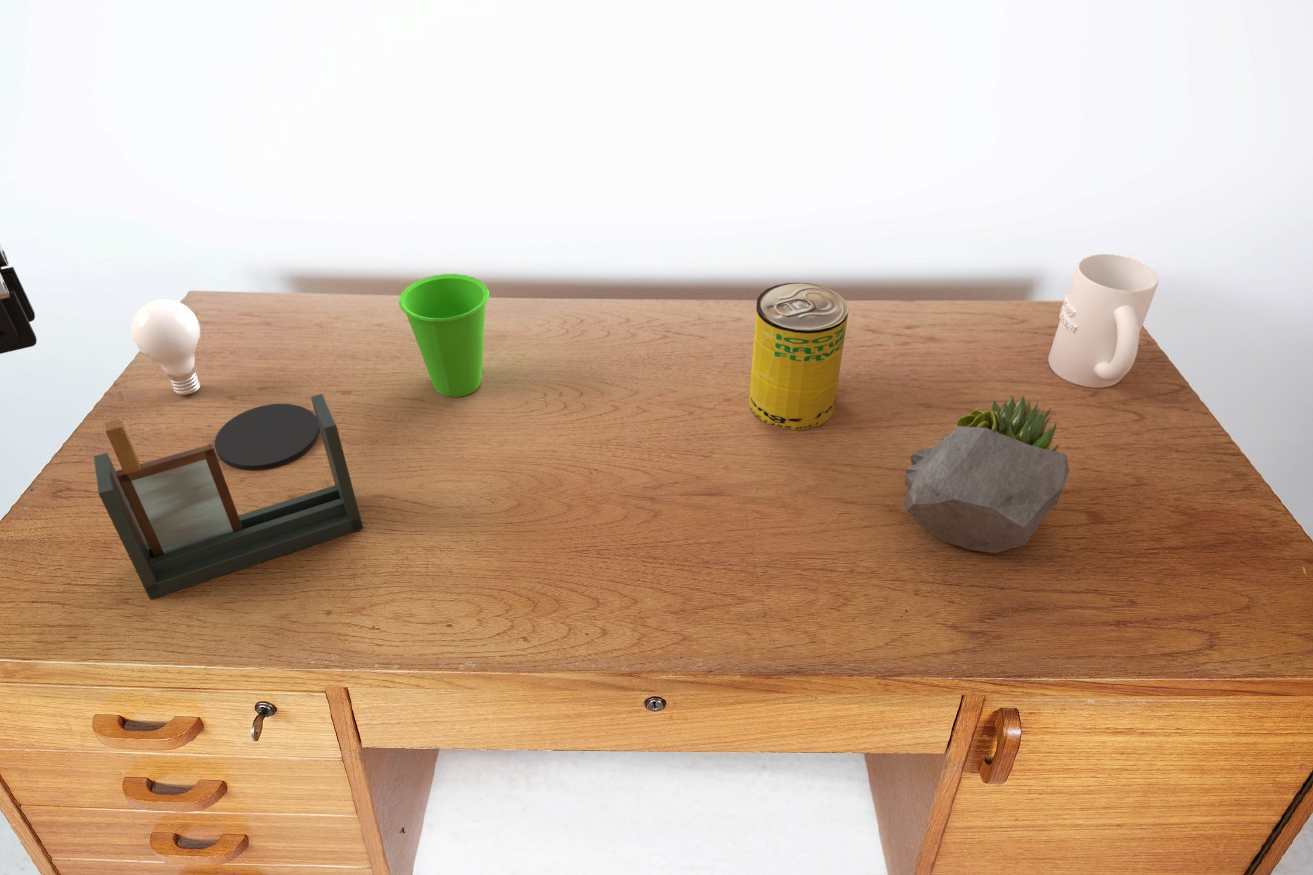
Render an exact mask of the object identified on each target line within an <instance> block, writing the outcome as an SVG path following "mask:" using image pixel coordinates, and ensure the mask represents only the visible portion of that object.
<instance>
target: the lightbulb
mask: <svg viewBox="0 0 1313 875" xmlns="http://www.w3.org/2000/svg"><path fill="white" fill-rule="evenodd" d="M130 335H131V339H132V341H133V343H134V345H135V346H136V348H137V350H139V351H140V352H141V354H143V355H145V356H146V357H147V358H149V359H151V360H153V361H154V362H155V363H157V364H158V365H159V367H160V368H161V370H162V371H163V372H164V373H165V374H166V375H167V378H168V379H169V382H170V385H171V388H172V390H173V392H174V394H177V395H179V396H180V395H181V396H187V395H192V394H193V393H195V392H197V391H198V390H199V389H200V387H201V382H200V379H199V377H198V374H197V371H196V368H195V364H196V357H195V356H196V355H195V353H196V350H197V347H198V345H199V342H200V340H201V339H200V338H201V326H200V322H199V319H198V318H197V316H196V314H195V313H194V311H192V310H191V308H190V307H189V306H187V305H186V304H184V303H182V302H180V301H178V300H174V299H169V298H159V299H154V300H151V301H148V302H145V303H144V304H142V305H141V306H140V307H139V308H138V309H137V310H136V312H135V313H134V315H133V316H132V319H131V322H130Z"/></svg>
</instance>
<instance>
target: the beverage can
mask: <svg viewBox="0 0 1313 875" xmlns="http://www.w3.org/2000/svg"><path fill="white" fill-rule="evenodd" d="M848 317H849V304H848V302H847V301H846V299H845V298H844V297H842V295H841V294H839V293H838V292H836V291H834V290H832V289H830V288H829V287H826V286H822V285H819V284H814V283H807V282H787V283H781V284H776V285H774V286H771V287H768V288H766V289H765V290H764V291H762V292H761V293H760V295H758V297H757V299H756V306H755V320H754V330H753V332H754V333H753V345H752V358H751V369H750V372H751V373H750V385H749V397H748V405H749V407H750V410H751V412H752V413H753V415H755V417H756V418H758V419H759V420H760V421H762V422H763V423H766V424H768V425H770V426H772V427H776V428H779V429H784V430H794V431H797V430H798V431H799V430H800V431H801V430H808V429H813V428H815V427H819V426H820V425H823V424H824V423H826V422H827V421H829V419H830V418H831V417H832V415H833V413H834V411H835V406H836V405H835V404H836V400H837V399H836V398H837V392H838V384H839V378H840V372H841V364H842V356H843V351H844V345H845V338H846V330H847V325H848Z"/></svg>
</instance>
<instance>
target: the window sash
mask: <svg viewBox="0 0 1313 875" xmlns="http://www.w3.org/2000/svg"><path fill="white" fill-rule="evenodd" d="M103 428H104V433H105V434H106V436H107V439H108V441H109V443H110V445H111V447H112V448H111V449H112V450H113V452H114V454H115V456H116V459H117V461H118V463H119V466H120V467H121V469H117V470H115V471H116V476H117V478H118V480H119V482H120V485H121V487H122V489H123V491H124V493H125V495H126V498H127V500H128V502H129V504H130V506H131V508H132V511H133V513H134V515H135V517H136V519H137V521H138V523H139V526H140V528H141V530H142V532H143V534H144V536H145V539H146V541H147V543H148V545H149V547H150V549H151V552H152V554H153V556H154V558H155V557H158V556H161V555H164V554H167V553H170V552H173V551H177V550H180V549H183V548H186V547H189V546H192V545H195V544H199V543H202V542H205V541H208V540H211V539H214V538H218V537H221V536H224V535H227V534H230V533H233V532H236V531H240V530H243V527H242V524H241V521H240V519H239V516H238V515H239V513H238V510H237V507H236V506H235V503H234V499H233V497H232V494H231V491H230V489H229V486H228V484H227V481H226V478H225V475H224V472H223V470H222V468H221V465H220V462H219V459H218V455H217V453H216V450H215V447H214V446H213V444H212V443H210V444H206V445H203V446H199V447H196V448H192V449H187V450H185V451H182V452H178V453H174V454H171V455H167V456H164V457H159V458H157V459H153V460H151V461H147V462H142V463H141V462H140V460H139V457H138V455H137V452H136V450H135V448H134V446H133V444H132V441H131V439H130V436H129V434H128V432H127V430H126V428H125V425H124V423H123V421H122V418H118V419H114V420H110V421H107V422H104V423H103Z"/></svg>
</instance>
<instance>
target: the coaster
mask: <svg viewBox="0 0 1313 875" xmlns="http://www.w3.org/2000/svg"><path fill="white" fill-rule="evenodd" d="M320 433H321V432H320V429H319V425H318V422H317V418H316V414H314V412H312V411H311V410H310V409H307V408H306V407H304V406H301V405H297V404H292V403H271V404H264V405H260V406H257V407H254V408H251V409H250V408H249V409H248V410H245V411H243V412H241V413H239V414H237V415H235V416H234V417H232V418H231V419H229V420H228V421H227V422H225V424H224V425H223V426H222V427H221V428H220V429H219V430H218V432H217V434H216V436H215V439H214V450H215V453H216V456H217V457H218V458H219V459H220V461H222V462H223V463H224V464H226V465H228V466H230V467H232V468H235V469H240V470H246V471H259V470H267V469H268V470H269V469H273V468H277V467H280V466H283V465H286V464H288V463H291V462H293V461H295V460H297V459H299V458H300V457H302V456H303V455H305V454H306V453H307V452H308V451H309V450H310V449H312V447H313V446H314V445H315V444H316V442H317V440H318V438H319V436H320Z"/></svg>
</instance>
